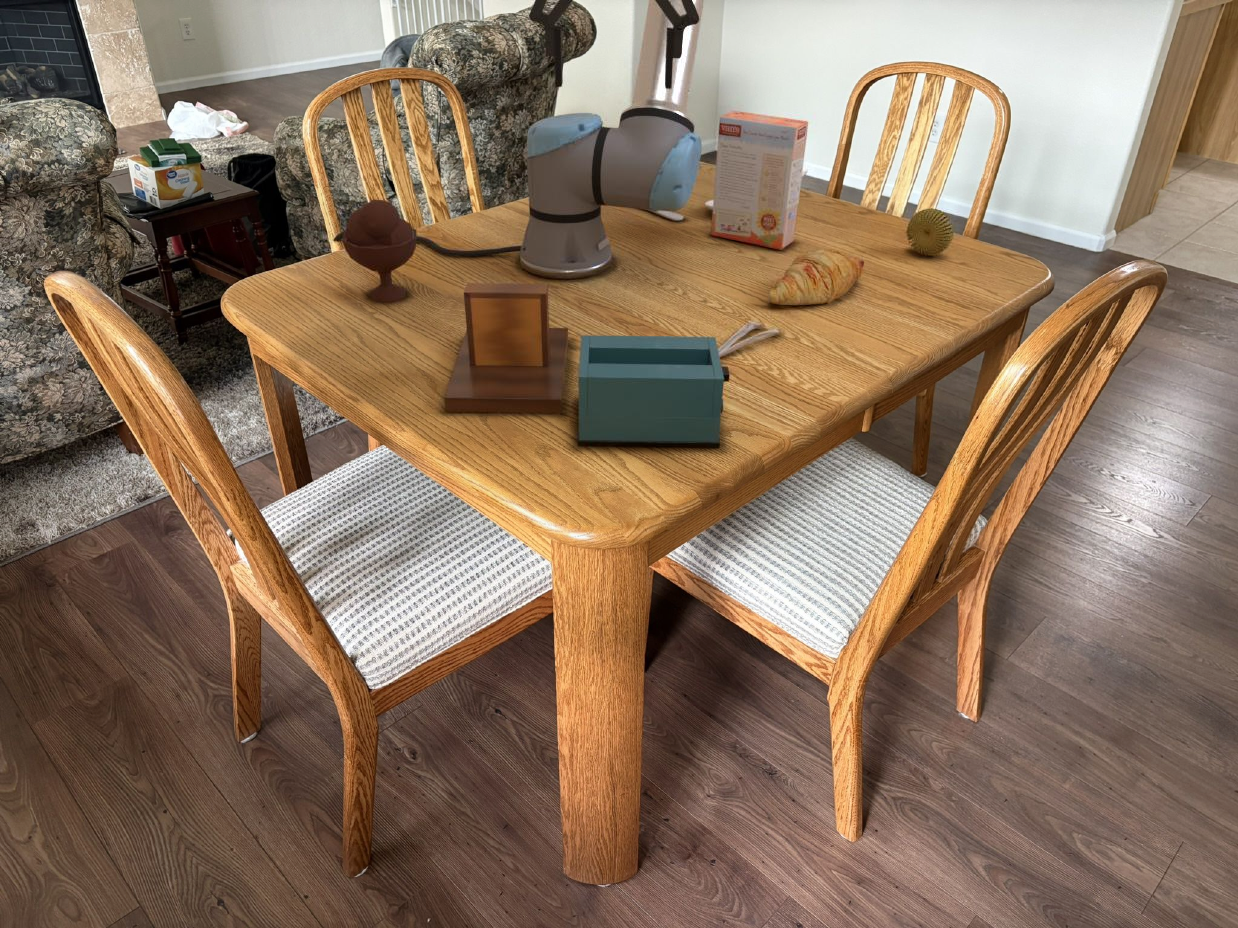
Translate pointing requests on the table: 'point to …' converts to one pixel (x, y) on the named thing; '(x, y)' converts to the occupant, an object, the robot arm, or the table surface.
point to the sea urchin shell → (930, 232)
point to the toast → (507, 324)
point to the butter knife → (669, 215)
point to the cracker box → (758, 178)
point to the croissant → (816, 278)
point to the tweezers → (740, 333)
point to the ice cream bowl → (380, 244)
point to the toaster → (650, 391)
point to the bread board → (509, 383)
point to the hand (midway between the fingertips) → (613, 86)
